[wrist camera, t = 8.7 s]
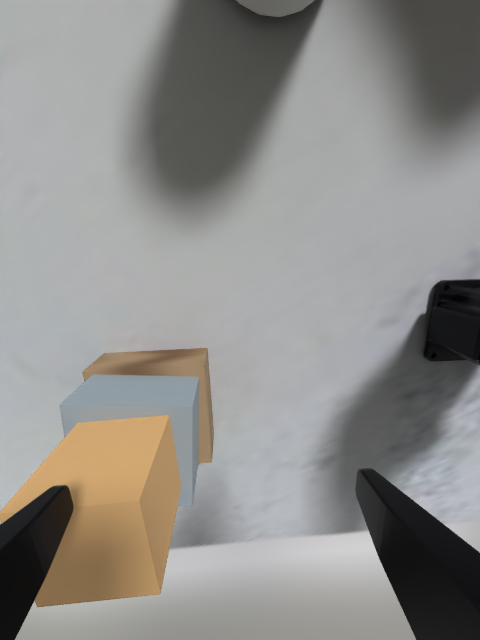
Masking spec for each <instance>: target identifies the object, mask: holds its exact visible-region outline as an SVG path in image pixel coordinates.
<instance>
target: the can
mask: <svg viewBox="0 0 480 640" xmlns="http://www.w3.org/2000/svg"><path fill="white" fill-rule="evenodd" d="M313 1H315V0H237V2H238V3H239V4H241V5H242V6H244V7H246V8H248V9H250V10H252V11H253V12H255V13H257V14H259V15H266V16H274V17H282V16H286V15H289V14H293V13H296V12H300V11H302V10H303V9H304V8H305V7H307V6H308V5H309V4H311V3H312V2H313Z"/></svg>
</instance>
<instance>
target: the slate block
mask: <svg viewBox="0 0 480 640" xmlns="http://www.w3.org/2000/svg"><path fill="white" fill-rule="evenodd" d="M60 411H61V417H62V424H63V431H64V437H66V435H67V434H68V433H69V432H70V431H71V430H72V429H73V427H74V426H75V425H76V424H77V423H82V422H93V421H105V420H116V419H127V418H138V417H150V416H161V415H170V421H171V427H172V433H173V439H174V445H175V451H176V457H177V463H178V468H179V474H180V480H181V491H180V497H179V502H178V506H192V505H193V497H194V490H195V483H196V475H197V468H198V449H199V377H193V376H144V375H95V374H93V375H92V376H91V377H89V378H88V379H87V380H86V381H85V382H84V383H83V384H82V385H81V386H80V387H79V388H77V389H76V390H75V391H74V392H73V393H72V394H71V395H70V396H69V397H68V398H67V399H66V400H64V401H63V402H62V403H61V404H60Z"/></svg>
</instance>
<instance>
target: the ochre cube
mask: <svg viewBox="0 0 480 640" xmlns="http://www.w3.org/2000/svg"><path fill="white" fill-rule="evenodd" d="M55 485H67V486H68V487H69V489H70V493H71V497H72V500H73V504H74V509H73V513H72V516H71V519H70V521H69V523H68V526H67V528H66V531H65V533H64V535H63V538H62V540H61V543H60V545H59V548H58V550H57V552H56V555H55V557H54V560H53V562H52V564H51V567H50V569H49V571H48V574H47V576H46V578H45V580H44V582H43V584H42V586H41V588H40V590H39V592H38V594H37V596H36V598H35V603H36V605H37V607H44V606H53V605H63V604H71V603H81V602H91V601H100V600H110V599H119V598H128V597H138V596H147V595H157V594H160V593H161V588H162V583H163V578H164V573H165V567H166V563H167V558H168V552H169V547H170V542H171V537H172V532H173V527H174V522H175V517H176V512H177V507H178V502H179V497H180V491H181V480H180V474H179V468H178V463H177V457H176V451H175V445H174V439H173V433H172V427H171V421H170V415H161V416H150V417H138V418H127V419H116V420H105V421H93V422H82V423H77V424H76V425H75V426H74V427H73V429H72V430H71V431H70V432H69V433H68V434H67V435H66V437H65V438H64V439H63V440H62V441H61V442H60V443H59V445H58V446H57V447H56V448H55V449H54V450H53V452H52V453H51V454H50V455H49V456H48V457H47V458H46V460H45V461H44V462H43V463H42V464H41V465H40V466H39V468H38V469H37V470H36V471H35V472H34V473H33V475H32V476H31V477H30V478H29V479H28V480H27V481H26V483H25V484H24V485H23V486H22V487H21V488H20V489H19V491H18V492H17V493H16V494H15V495H14V496H13V498H12V499H11V500H10V501H9V502H8V503H7V504H6V506H5V507H4V508H3V509H2V510H1V511H0V521H1V523H3V522H4V521H6V520H7V519H8V518H10V517H11V516H13V515H14V514H15V513H17V512H18V511H19V510H21V509H22V508H23V507H25V506H26V505H27V504H29V503H30V502H31V501H33V500H34V499H35V498H37V497H38V496H39V495H41V494H42V493H43V492H45V491H46V490H48V489H49V488H50V487H52V486H55Z"/></svg>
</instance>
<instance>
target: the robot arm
mask: <svg viewBox="0 0 480 640" xmlns="http://www.w3.org/2000/svg"><path fill="white" fill-rule="evenodd" d="M444 285H446V287H445V289H443V287H444ZM432 353H433V354H432ZM431 354H432V356H431ZM424 357H425V358H426V359H428V360H429V361H453V360H469V361H472V362H474V363H476V364H478V365H480V279H468V280H442V281H440V282H439V283H438V284H437V286H436V290H435V295H434V301H433V306H432V312H431V317H430V323H429V328H428V334H427V339H426V345H425V350H424ZM356 495H357V499H358V502H359V504H360V507H361V510H362V513H363V516H364V518H365V521H366V524H367V527H368V529H369V532H370V535H371V537H372V540H373V543H374V546H375V548H376V551H377V554H378V556H379V559H380V561H381V563H382V565H383V568H384V570H385V572H386V574H387V577H388V579H389V581H390V583H391V585H392V587H393V590H394V592H395V594H396V596H397V598H398V601H399V603H400V605H401V607H402V609H403V611H404V614H405V616H406V618H407V620H408V622H409V624H410V626H411V629H412V631H413V633H414V635H415V637H416V640H480V553H479V552H478V551H477V550H476V549H474V548H473V547H472V546H471V545H469V544H468V543H467V542H465V541H464V540H463V539H462V538H460V537H459V536H458V535H457V534H455V533H454V532H453V531H451V530H450V529H449V528H448V527H446V526H445V525H444V524H442V523H441V522H440V521H439V520H437V519H436V518H435V517H434V516H432V515H431V514H430V513H428V512H427V511H426V510H425V509H423V508H422V507H421V506H419V505H418V504H417V503H416V502H414V501H413V500H412V499H411V498H409V497H408V496H407V495H405V494H404V493H403V492H402V491H400V490H399V489H398V488H397V487H395V486H394V485H393V484H391V483H390V482H389V481H388V480H386V479H385V478H384V477H382V476H381V475H380V474H379V473H377V472H376V471H375V470H373V469H371V468H364V469H359V470H358V472H357V480H356ZM73 509H74V504H73V500H72V497H71V493H70V489H69V487H68V486H67V485H55V486H52V487H50V488H49V489H48V490H46V491H45V492H43V493H42V494H41V495H39V496H38V497H37V498H35V499H34V500H33V501H31V502H30V503H29V504H27V505H26V506H25V507H23V508H22V509H21V510H19V511H18V512H17V513H15V514H14V515H13V516H11V517H10V518H8V519H7V520H6V521H4V522H3V523H2V524H0V640H15V638H16V636H17V634H18V632H19V630H20V628H21V626H22V624H23V622H24V620H25V618H26V616H27V614H28V612H29V610H30V608H31V606H32V604H33V602H34V600H35V598H36V596H37V594H38V592H39V590H40V588H41V586H42V584H43V582H44V580H45V578H46V576H47V574H48V571H49V569H50V567H51V564H52V562H53V560H54V557H55V555H56V552H57V550H58V548H59V545H60V543H61V540H62V538H63V535H64V533H65V531H66V528H67V526H68V523H69V521H70V519H71V516H72V513H73Z"/></svg>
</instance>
